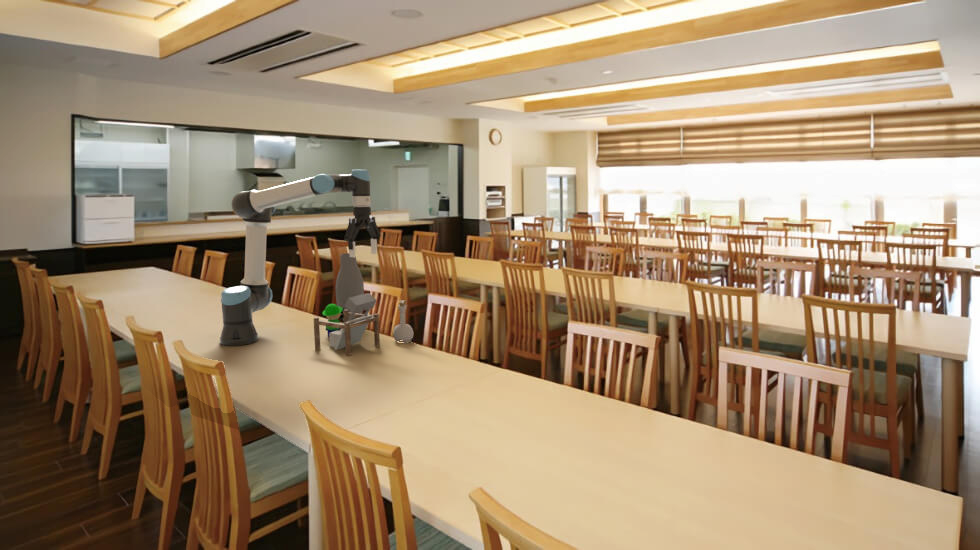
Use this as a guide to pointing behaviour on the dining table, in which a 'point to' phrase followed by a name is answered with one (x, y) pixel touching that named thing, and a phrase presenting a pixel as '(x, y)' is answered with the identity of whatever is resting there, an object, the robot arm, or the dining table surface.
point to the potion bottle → (403, 326)
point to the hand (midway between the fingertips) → (363, 255)
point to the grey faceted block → (355, 306)
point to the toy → (333, 316)
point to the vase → (348, 281)
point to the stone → (334, 338)
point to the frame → (347, 329)
